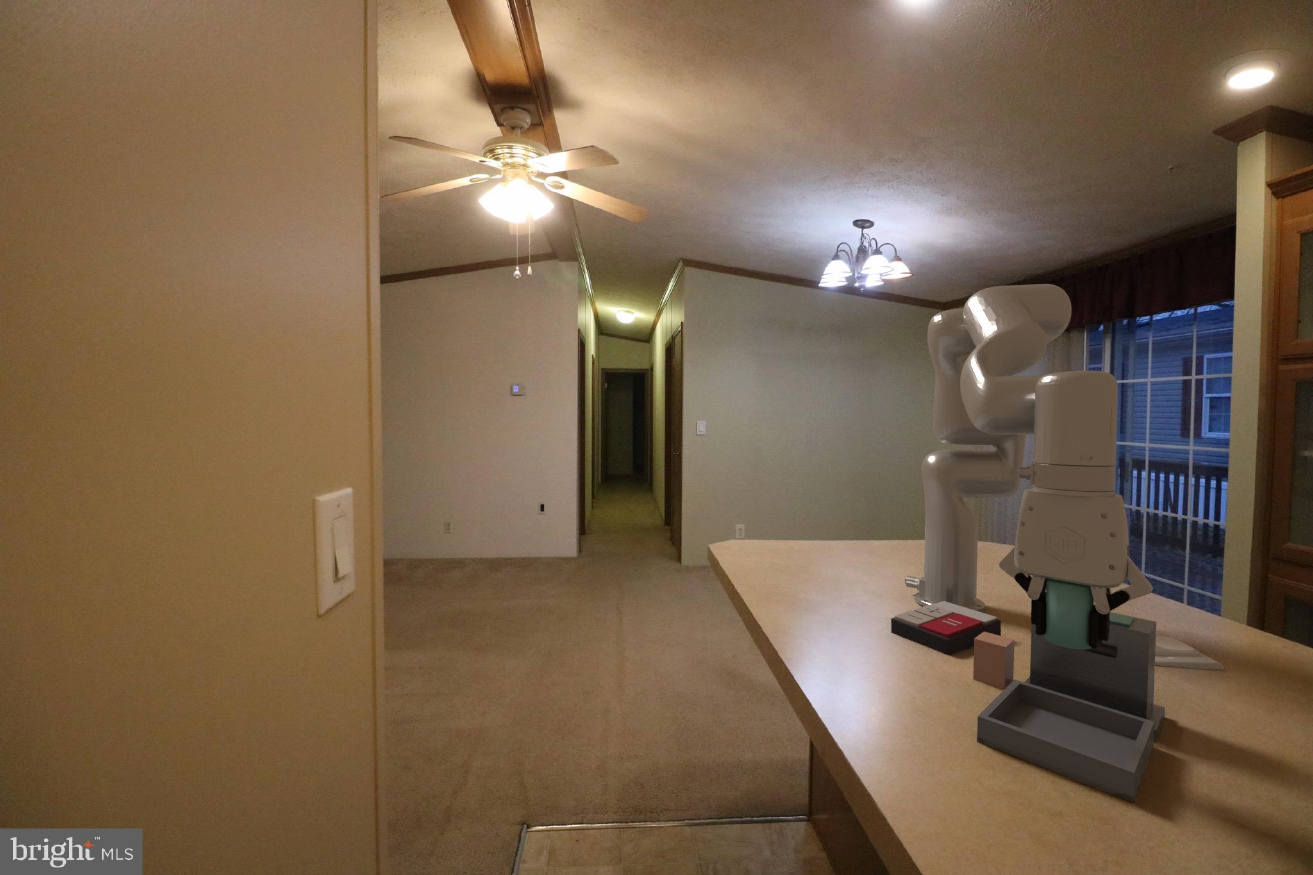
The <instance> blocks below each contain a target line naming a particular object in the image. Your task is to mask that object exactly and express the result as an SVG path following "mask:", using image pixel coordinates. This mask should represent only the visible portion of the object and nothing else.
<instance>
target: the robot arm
mask: <svg viewBox="0 0 1313 875" xmlns="http://www.w3.org/2000/svg"><path fill="white" fill-rule="evenodd" d="M1071 317H1072V303H1071V300H1070V297H1069V295H1068V294H1067V293H1066V291H1065V290H1064V289H1063V288H1061V286H1057V285H1055V284H1052V283H1051V284H1050V283H1039V284H1037V283H1036V284H1021V285H1020V284H1015V285H998V286H997V285H995V286H991V287H987V288H982V289H981V290H979V291H977V292H974V293H973V294H972V295H971V296H970V297H969V298H968V300H966V302H965V303H964V306H963V308H954V309H953V308H952V309H947V310H944V311H940V312H937V313H936V314H935V315H933V317H931V319H930V321H929V322H928V326H927V336H926V337H927V347H928V352H929V354H930V358H931V361H932V364H933V368H934V373H935V382H934V397H933V411H932V412H933V413H932V432H933V435H934V437H935V438H936V440H937V441H938V442H941V443H942V444H943V443H944V444H948V445H949V444H950V445H957V446H958V445H961V446H962V445H963V446H993V450H972V449H941V450H936V451H932V452H930V453H928V454H927V455H926V456H925V457H924V458H923V460H922V462H921V467H920V468H921V470H920V472H921V478H922V479H921V480H922V487H923V495H924V508H925V509H924V514H925V518H924V520H925V521H924V565H923V566H924V568H923V570H924V571H923V576H922V577H920V578H918V577H915V576H911V575H906V576H905V578H904V584H905V587H907V588H912V589H913V588H914V589H916V590H917V592H916V593H915V602H916V603H917V604H918V605H920V606H921V607H923V606H926V605H932V604H936V603H939V602H942V601H945V602H949V603H952V604H955V605H959V606H962V607H965V608H969V609H972V610H975V611H978V612H982V613H985V610H986V604H985V602H984V601H983V600H982V599H979V598H978V597H977V588H978V586H977V585H978V584H977V583H978V550H979V549H978V546H979V544H978V543H979V522H978V521H979V520H978V518H977V515H976V514H975V512H974V511H973V510H972V508H970V507H969V505H967V503H966V502H965V499H990V500H991V499H995V500H996V499H999V500H1001V499H1003V500H1004V499H1010V498H1012V497H1014V496H1015V495H1017V493H1018V491H1019V490H1020V486H1021V481H1022V479H1026V480H1029V482H1030V485H1031V486H1032V488H1025V489H1024V491H1023V494H1022V498H1021V501H1020V507H1019V511H1018V516H1017V517H1018V518H1017V525H1016V534H1015V541H1014V542H1015V544H1014V547H1013V548H1012V549H1011V550H1010V551H1009V552H1008V554H1006V555H1005V556H1004V557H1003V558H1002V560H1001V561H1000V562H999V563H998V566H999V568H1000V569H1001V570H1002V571H1004V572H1005V573H1006V574H1007V575H1009V577H1011V578H1013V579H1014V580H1015V582H1016V583H1017V584H1018V585H1019V587H1021V589H1023V591H1024V592H1025V593H1026V594H1027V597H1028V598H1029V599H1030V601H1031V605H1030V624H1034V625H1036V634H1037V635H1044V634H1045V617H1046V578H1048V579H1053V580H1059V581H1064V582H1070V583H1076V584H1081V585H1087V586H1090V587H1091V591H1092V595H1093V599H1094V606H1093V611H1091V612H1090V618H1089V646H1091V648H1095V649H1097V648H1098V647H1099V646H1100V645H1101V643H1102V640H1103V641H1108V639H1109V623H1110V612H1113V610H1115V609H1117V608H1119V607H1121V606H1123V604H1125V603H1127V602H1129V601H1132V600H1136V599H1139V598H1141V597H1145V596H1147V595H1149V594H1151V593H1152V591H1153V590H1154V587H1153V585H1152V583H1151V582H1150V581H1149V580H1148V579H1147V578H1146V576H1145V575H1144V574H1143V572H1142V571H1141V570H1140V569H1139V567H1138V566H1137V565H1136V564H1135V563H1134V561H1133V559H1131V558H1130V539H1129V528H1128V518H1127V512H1126V507H1125V503H1124V498H1123V496H1122V495H1121V494H1118V493H1117V494H1116V487H1115V486H1116V464H1117V463H1116V461H1117V460H1116V457H1117V431H1118V430H1117V427H1118V425H1117V424H1118V423H1117V422H1118V393H1119V390H1118V388H1119V387H1118V381H1117V378H1116V377H1115V376H1114V375H1113V374H1111V373H1110V372H1106V371H1101V370H1099V371H1098V370H1073V371H1071V370H1069V371H1058V372H1051V373H1047V374H1045V375H1018V374H1021V373H1023V372H1025V371H1027V370H1029V369H1030V368H1032V367H1033V366H1035V365H1036V364H1038V362H1040V360H1041V359H1042V357H1043V356H1044V355H1045V353H1046V351H1047V347H1048V344H1049V343H1050V342H1052V341H1054V340H1055V339H1056V338H1058V337H1059V336H1061V335H1062V334H1063V333H1064V332H1065V330H1066V329H1067V327H1068V326H1069V323H1070V321H1071ZM1027 435H1033V462H1032V463H1031V465H1030V466H1027V467H1025V466H1024V460H1025V459H1024V456H1025V447H1026V439H1027ZM1023 466H1024V467H1023ZM1125 580H1128V582H1129V583H1130V585H1128V586H1126V587H1123V588H1120V589H1118V590H1116V591H1114V592H1112V589H1114V588H1117V587H1120V586H1121V585H1122V584H1124V583H1125Z"/></svg>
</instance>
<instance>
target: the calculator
mask: <svg viewBox="0 0 1313 875" xmlns="http://www.w3.org/2000/svg"><path fill="white" fill-rule="evenodd" d="M983 632H987V633H991V634H995V635H999V636H1002V633H1001V632H1002V620H1001V619H1000V618H998V617H997V616H994V615H991V614H988V613H985V612H978V611H975V610H972V609H969V608H965V607H962V606H959V605H955V604H952V603H949V602H945V601H942V602H939V603H936V604H932V605H926V606H920V607H918V608H917V607H916V608H915V609H913V610H908V611H905V612H901V613H899V614H896V615H894V617H891V618H890V633H892V634H893V635H895V636H898V637H901V638H903V639H906V640H908V641H910V642H914V643H916V644H919V645H921V646H923V647H926V648H928V649H930V650H933V651H936V652H939V653H941V654H944V655H947V656H950V655H954V654H956V653H961V652H964V651H965V650H969V649H972V648H974V638H976V637H977V636H979V635H980V634H981V633H983Z"/></svg>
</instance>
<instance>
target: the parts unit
mask: <svg viewBox="0 0 1313 875" xmlns="http://www.w3.org/2000/svg"><path fill="white" fill-rule="evenodd" d="M1030 624H1031V623H1030ZM1030 628H1031V629H1030V662H1029V663H1030V664H1029V667H1030V668H1029V676H1028V678H1027V679H1025V681H1024V682H1025V683H1029V684H1032V685H1035V686H1038V687H1042V688H1045V689H1048V690H1052V691H1055V692H1058V693H1061V694H1065V695H1068V696H1071V697H1075V698H1078V699H1081V700H1084V701H1088V702H1091V703H1094V704H1098V705H1101V706H1104V707H1107V708H1111V709H1114V710H1117V711H1121V712H1124V713H1127V714H1130V715H1134V716H1137V717H1140V718H1144V719H1147V720H1150V721H1153V722H1154V742H1155V741H1157V739H1158V737H1159V733H1160V730H1161V729H1162V725H1163V722H1164V720H1165V715H1166V714H1165V713H1166V706H1165V707H1164V706H1162V705H1161V706H1160V705H1158V704H1155V703H1154V701H1155V700H1154V698H1155V697H1154V696H1155V676H1156V675H1155V674H1156V673H1155V670H1156V666H1155V647H1156V636H1157V621H1155V620H1150V619H1145V618H1140V617H1135V616H1131V615H1126V614H1123V613H1122V614H1121V613H1117V612H1113V611H1110V623H1109V639H1108V641H1103V640H1102V643H1101V645H1100V646H1099V647H1098V648H1097V649H1095V648H1091V649H1086V650H1080V649H1071V648H1066V647H1062V646H1059V645H1056V644H1053V643H1051V642H1049V641H1047V640H1046V639H1045V634H1044V635H1037V634H1036V625H1034V624H1031V627H1030Z"/></svg>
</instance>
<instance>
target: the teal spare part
mask: <svg viewBox="0 0 1313 875" xmlns="http://www.w3.org/2000/svg"><path fill="white" fill-rule="evenodd" d="M1094 605H1095V603H1094V599H1093V595H1092V591H1091V587H1090V586H1087V585H1081V584H1076V583H1070V582H1064V581H1059V580H1053V579H1048V578H1046V617H1045V639H1046V640H1047V641H1049V642H1051V643H1053V644H1056V645H1059V646H1062V647H1066V648H1071V649H1080V650H1086V649H1091V646H1089V618H1090V612H1091V611H1093V606H1094Z"/></svg>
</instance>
